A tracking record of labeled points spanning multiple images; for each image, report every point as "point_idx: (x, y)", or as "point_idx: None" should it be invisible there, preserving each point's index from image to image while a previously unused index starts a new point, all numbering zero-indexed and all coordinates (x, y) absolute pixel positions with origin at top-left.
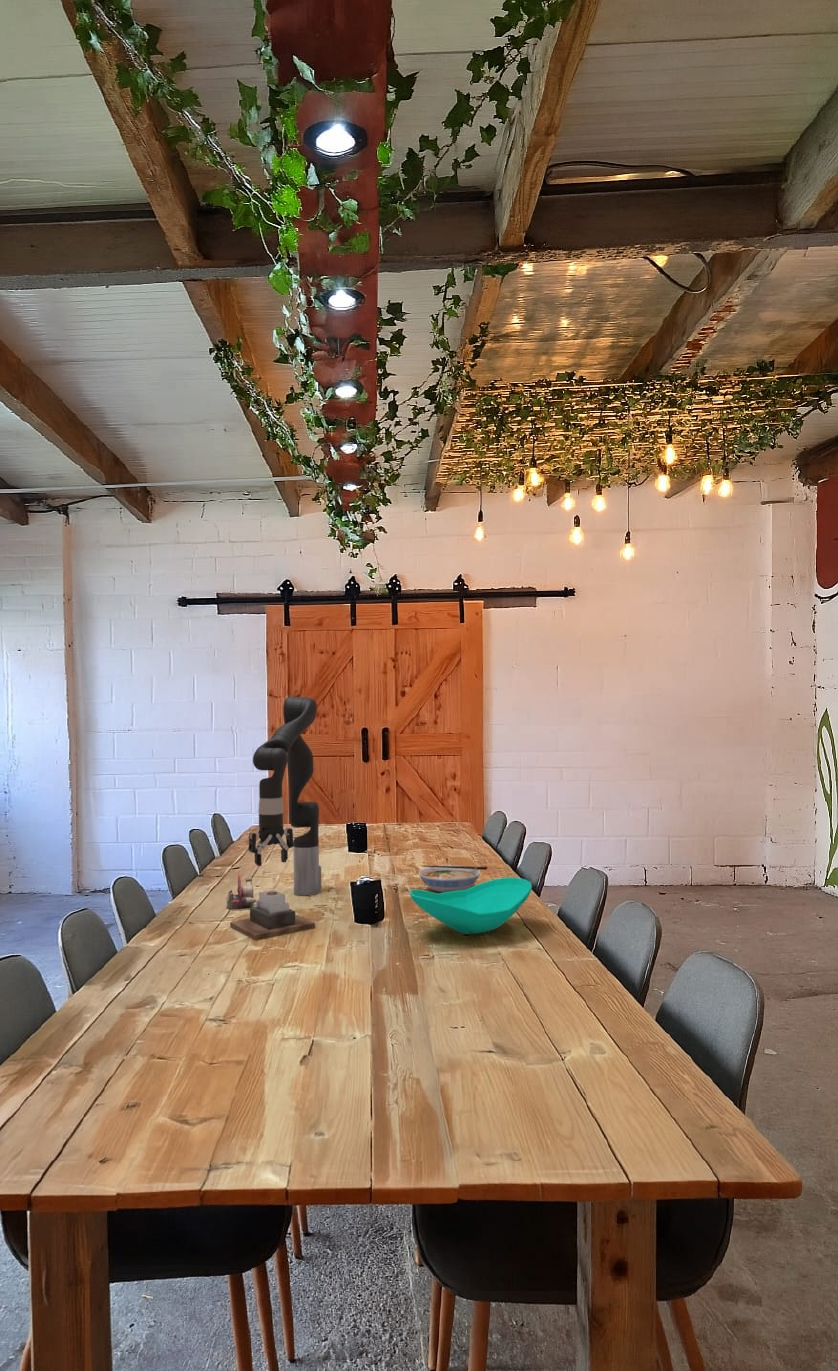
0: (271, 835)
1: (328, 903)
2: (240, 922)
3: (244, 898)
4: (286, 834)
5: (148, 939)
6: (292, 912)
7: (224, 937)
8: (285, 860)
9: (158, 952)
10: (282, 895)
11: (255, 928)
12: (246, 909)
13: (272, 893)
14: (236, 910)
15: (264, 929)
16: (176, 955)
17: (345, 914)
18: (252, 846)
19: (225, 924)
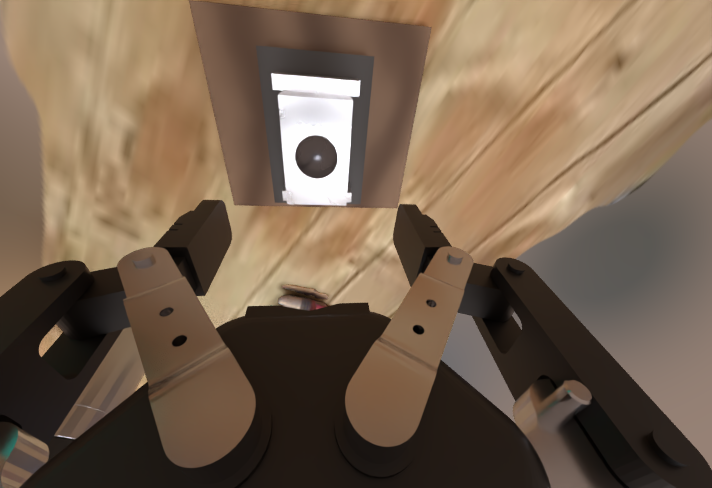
0: (359, 422)
1: (91, 230)
2: (382, 190)
3: (303, 309)
4: (1, 450)
5: (542, 228)
6: (268, 47)
7: (455, 133)
8: (207, 203)
9: (612, 132)
10: (292, 95)
11: (387, 106)
12: (303, 288)
13: (319, 148)
14: (321, 293)
15: (374, 73)
16: (624, 73)
17: (37, 85)
18: (557, 302)
19: (389, 226)
